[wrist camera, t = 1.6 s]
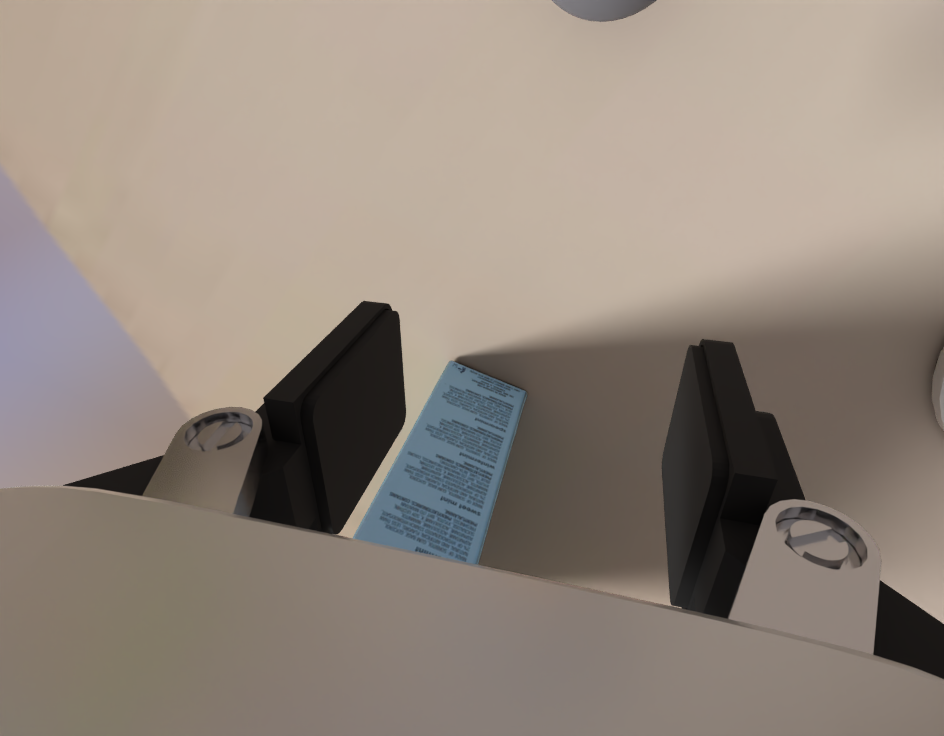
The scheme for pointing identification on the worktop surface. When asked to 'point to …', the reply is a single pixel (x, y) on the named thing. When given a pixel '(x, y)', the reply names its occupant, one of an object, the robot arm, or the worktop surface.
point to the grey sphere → (603, 8)
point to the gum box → (448, 469)
